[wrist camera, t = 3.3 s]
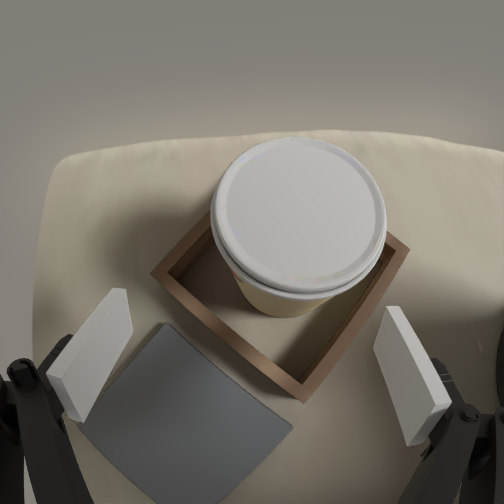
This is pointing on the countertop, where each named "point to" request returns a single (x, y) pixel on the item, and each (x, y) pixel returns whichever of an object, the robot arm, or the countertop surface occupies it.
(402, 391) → the robot arm
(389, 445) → the countertop surface
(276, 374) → the cup holder
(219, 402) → the rubber mat
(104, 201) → the countertop surface
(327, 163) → the coffee cup
